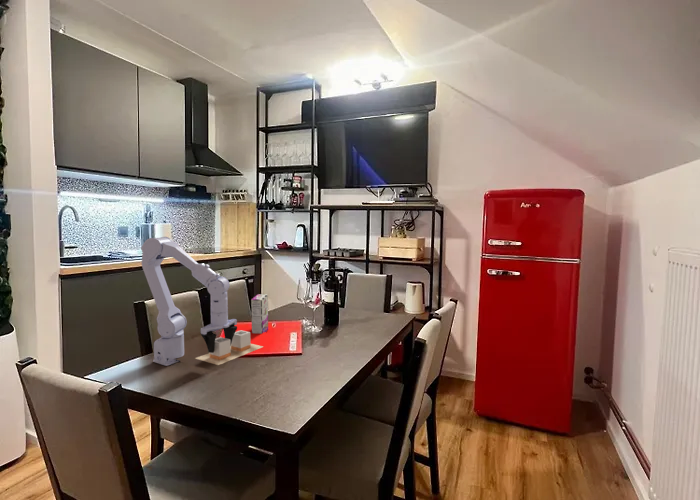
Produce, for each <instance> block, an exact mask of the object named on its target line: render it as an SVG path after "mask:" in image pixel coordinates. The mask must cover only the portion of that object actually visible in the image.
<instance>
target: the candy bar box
mask: <svg viewBox="0 0 700 500" xmlns="http://www.w3.org/2000/svg"><path fill="white" fill-rule="evenodd" d="M268 297H269V294H267V293H264V294H262V293H260V294H259V293H258V294H256V295H255V296H253V298H251V300H250V305H251V306H250V308H251V310H250V311H251V313H250V314H251V334H263V333H265V332H267V331H268V330H269V301H268V300H269V299H268Z"/></svg>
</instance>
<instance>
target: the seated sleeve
mask: <svg viewBox="0 0 700 500" xmlns="http://www.w3.org/2000/svg"><path fill="white" fill-rule="evenodd" d="M251 342H252V341H251V332H250V331H246V330H236V332H235V334H234V336H233V339H232V343H231V349H233V350H237V351H243V350H246V349H248V348H251V344H252V343H251Z"/></svg>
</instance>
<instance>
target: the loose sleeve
mask: <svg viewBox="0 0 700 500" xmlns="http://www.w3.org/2000/svg"><path fill="white" fill-rule="evenodd" d="M209 353H210V357H211V358H214V359H218V360H221V359H223V358H226V357H228V356H231V348H230V339H227V338H225V337H224V336H219V337H216V338H215V348H214V353H211V352H209Z"/></svg>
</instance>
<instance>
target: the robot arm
mask: <svg viewBox="0 0 700 500" xmlns="http://www.w3.org/2000/svg"><path fill="white" fill-rule="evenodd" d="M140 250H141V251H142V256H141V267H142V270H143V273H144V276H145V278H146V281H147V284H148V286H149V289H150V292H151V295H152V297H153V299H154V302H155V305H156V308H157V311H158V314H157V317H156V323H157V332H158V334H159V335H160V337H159V338H158V339H156V340H155V341H154V342H153V360H152V363H153V362H154V363H156V364H159V365H162V366H165V367H166V366H170V365H173V364H176V363H178V362H179V363H180V362H181V360H180V359H178V358H182V357H183V356H185V335H184V333H185V332H184V329H185V328H186V326H187V325H188V321H187V317H186V316H185V315H184V314H183V313H182V311H181V310H180V308H178V307H177V306H175V303H174V300H173V298H172V297H173V296H172V295H171V292H170V289H169V286H168V284H167V281H166V278H165V275H164V273H163V270H162V268H161V264H162V263H163V260H164V259H165V258H166V257H167V258H173V259H174V260H176V261H177V262H179V263H180V264H181V265H182V266H184V267H186V268H187V269H189V270H190V271H191V276H192V277H193V278H194V279H195V280H197V281H198V282H200V283H201V284H202V285H203V286H205V288H206V289H207V293H209V295H210V323H209V324H207V325H205V326H204V327H201V328H200V335H201V337H202V339H203V340H204V342H205V345H206V347H207V351H208V353H210V352H211V353H214V348H215V339H216V338H217V333H214V332H216V331H218V330H221V329H222V330H223V335H224V338H227V339H230V346H231V343H232V339H233V336H234V334H235V332H237V331H238V326H237V325H238V320H237V319H236V318H232V319H229V310H228V309H229V307H228V303H229V302H228V301H229V300H228V291H229V289H230V286H231V284H230V281H229V280H228V279H227V277H226V276H222V275H221V274H219V273H217V272H215V271H214V270H213V269H212V268H210V267H211V266H210V264H208V263H207V264H205V263H198V262H197V260H196V259H194V258H193V257H192V256H191V255H190V254H188V253H187V251H185V250H184V249H183V248H181V247H180V245H179V244H178V243H177V242H176V241H174V240H173V239H171V238H170V237H168V236H162V237H150V238H147V239H146V240H144V242H143V244H142V245H141V247H140Z"/></svg>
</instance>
